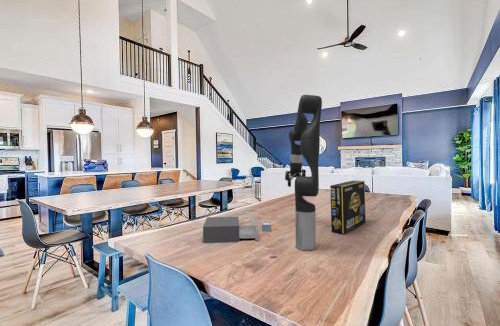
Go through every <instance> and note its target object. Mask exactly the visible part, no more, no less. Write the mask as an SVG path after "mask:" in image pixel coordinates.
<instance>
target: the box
mask: <svg viewBox="0 0 500 326" xmlns="http://www.w3.org/2000/svg"><path fill="white" fill-rule="evenodd" d="M365 183H366V182H365V180H349V181H345V182H344V181H343V182H341V183H336V184H333V185H329V186H330V187H329V188H330V218H331V221H330V222H331V232H332V233H336V234H338V235H339V234H341V235H346V234H347V233H349V232H351V231H353V230H355V229H356V228H358V227H360V226H362V225H364V224H365V223H366V222H367V218H366V217H367V216H366V215H367V214H366V213H367V212H366V186H365Z"/></svg>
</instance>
